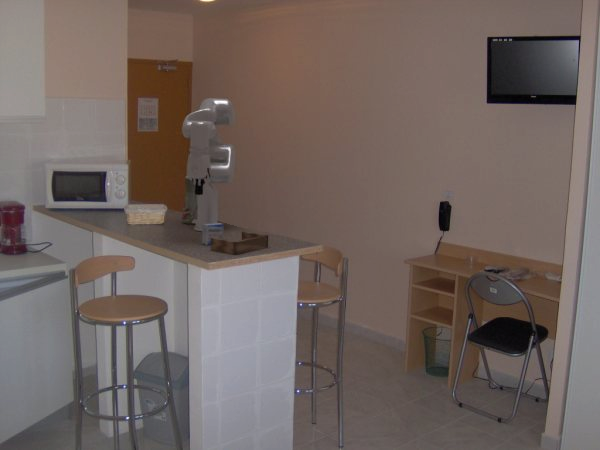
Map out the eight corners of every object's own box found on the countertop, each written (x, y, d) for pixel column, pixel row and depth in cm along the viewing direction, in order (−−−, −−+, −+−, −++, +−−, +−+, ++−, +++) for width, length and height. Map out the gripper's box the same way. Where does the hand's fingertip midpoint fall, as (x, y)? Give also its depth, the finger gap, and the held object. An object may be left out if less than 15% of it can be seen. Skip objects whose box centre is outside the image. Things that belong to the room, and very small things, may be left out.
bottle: (196, 225, 347) (196, 167, 342) (178, 224, 348) (178, 166, 344) (202, 222, 355) (202, 166, 350) (185, 221, 357) (185, 165, 352)
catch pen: (210, 250, 289) (210, 238, 289) (243, 242, 307) (243, 231, 306) (235, 254, 282) (236, 242, 281) (267, 247, 300) (268, 235, 299)
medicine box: (207, 245, 299) (207, 225, 297) (201, 243, 302) (202, 223, 301) (223, 244, 303) (223, 223, 302) (218, 242, 307) (218, 222, 305)
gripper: (180, 150, 301) (179, 193, 304) (206, 152, 293) (206, 196, 296) (192, 150, 308) (191, 192, 310) (218, 152, 299) (218, 195, 302)
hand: (198, 194), depth 303 cm, fingers closed
